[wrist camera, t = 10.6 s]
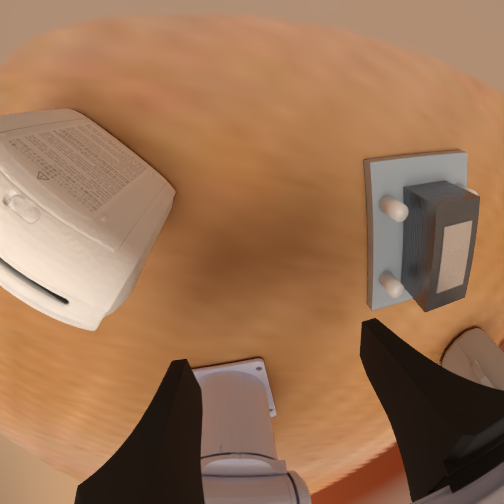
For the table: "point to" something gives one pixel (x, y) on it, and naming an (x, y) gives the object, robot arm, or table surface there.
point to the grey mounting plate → (399, 213)
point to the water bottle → (476, 359)
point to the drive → (438, 242)
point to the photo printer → (74, 215)
